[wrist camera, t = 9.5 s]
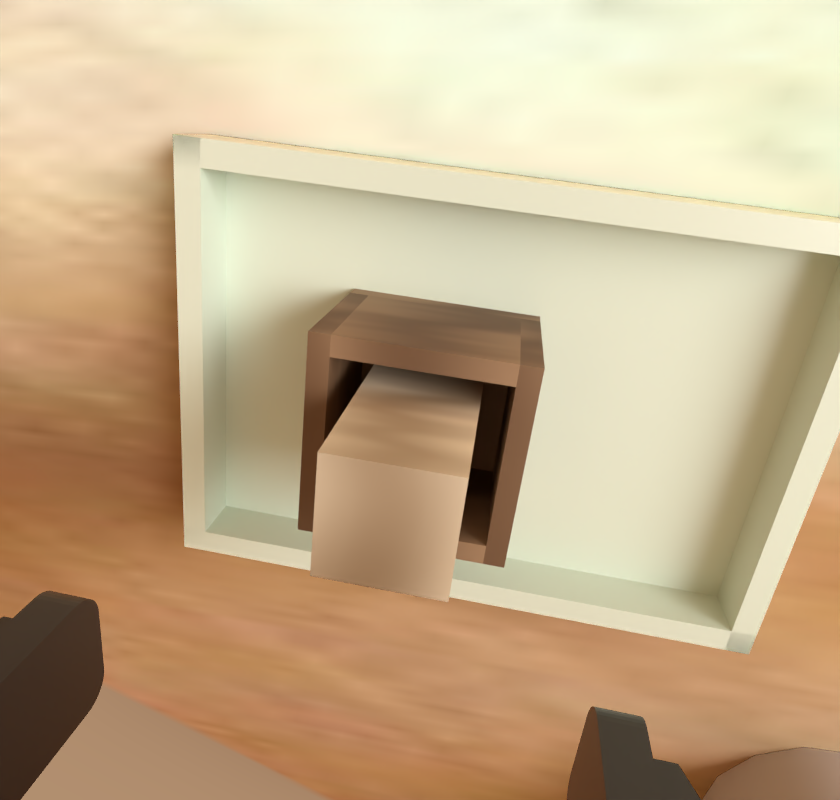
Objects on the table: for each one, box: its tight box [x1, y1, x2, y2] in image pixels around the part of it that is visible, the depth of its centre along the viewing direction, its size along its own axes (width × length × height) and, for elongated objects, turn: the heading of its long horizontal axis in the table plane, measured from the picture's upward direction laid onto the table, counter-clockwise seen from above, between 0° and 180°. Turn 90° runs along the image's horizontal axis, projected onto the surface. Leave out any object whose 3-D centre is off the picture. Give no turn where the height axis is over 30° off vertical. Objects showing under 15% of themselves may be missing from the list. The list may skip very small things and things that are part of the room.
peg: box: [310, 364, 484, 602], centre depth 18 cm, size 3×3×8 cm
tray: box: [173, 134, 840, 654], centre depth 21 cm, size 20×14×2 cm
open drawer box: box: [298, 288, 545, 568], centre depth 20 cm, size 6×6×5 cm
